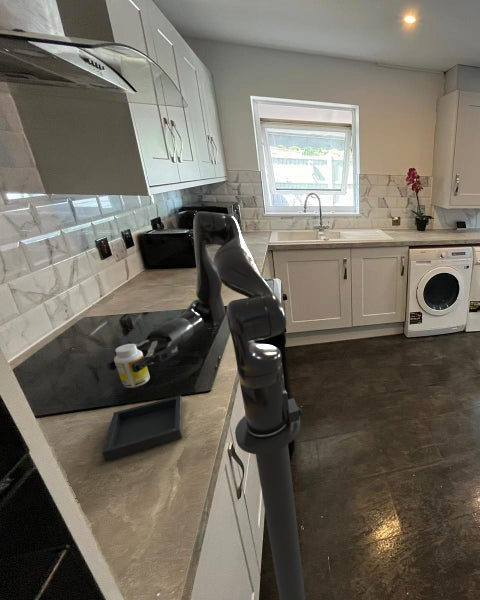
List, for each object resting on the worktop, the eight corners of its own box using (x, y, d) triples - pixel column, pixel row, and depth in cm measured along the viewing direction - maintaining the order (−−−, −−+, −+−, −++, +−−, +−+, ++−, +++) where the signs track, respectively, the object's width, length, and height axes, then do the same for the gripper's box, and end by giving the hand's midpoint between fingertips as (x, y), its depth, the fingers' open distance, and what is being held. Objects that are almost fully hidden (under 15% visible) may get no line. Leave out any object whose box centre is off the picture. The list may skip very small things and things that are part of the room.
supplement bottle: (153, 374, 86) (143, 340, 82) (146, 386, 81) (134, 352, 77) (128, 377, 84) (116, 343, 80) (119, 390, 79) (106, 355, 76)
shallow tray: (182, 403, 81) (180, 395, 80) (182, 438, 71) (179, 429, 70) (116, 420, 75) (113, 412, 74) (105, 462, 65) (101, 452, 64)
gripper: (144, 321, 93) (88, 352, 77) (193, 325, 92) (145, 357, 76) (151, 344, 95) (98, 378, 80) (198, 347, 95) (153, 383, 79)
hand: (121, 368), depth 78 cm, fingers closed on supplement bottle, 5 cm apart
